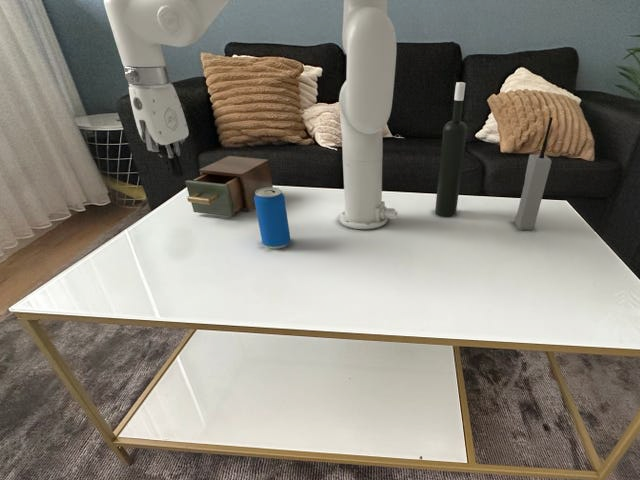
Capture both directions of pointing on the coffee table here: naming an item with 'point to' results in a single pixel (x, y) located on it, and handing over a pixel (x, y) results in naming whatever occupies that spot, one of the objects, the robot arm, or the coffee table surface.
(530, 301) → the coffee table surface
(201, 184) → the drawer
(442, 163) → the wine bottle
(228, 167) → the cabinet
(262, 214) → the beverage can
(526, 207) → the vintage mobile phone
